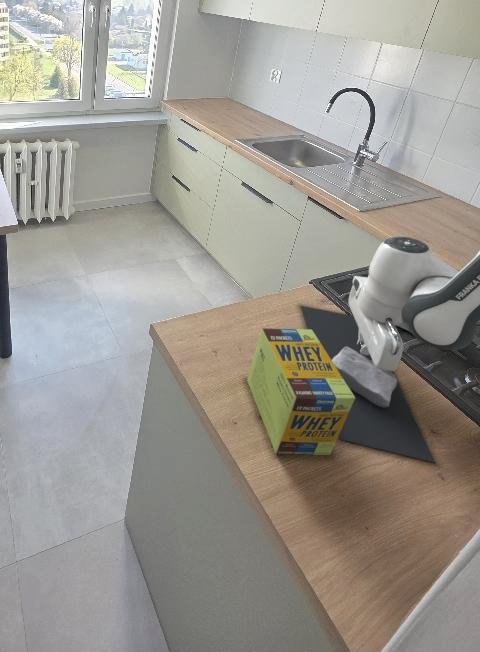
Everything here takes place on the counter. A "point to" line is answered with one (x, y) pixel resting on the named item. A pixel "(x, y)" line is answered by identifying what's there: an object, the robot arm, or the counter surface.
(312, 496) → the counter surface
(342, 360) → the stone block
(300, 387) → the protein box
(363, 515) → the counter surface
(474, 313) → the robot arm
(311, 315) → the mat
